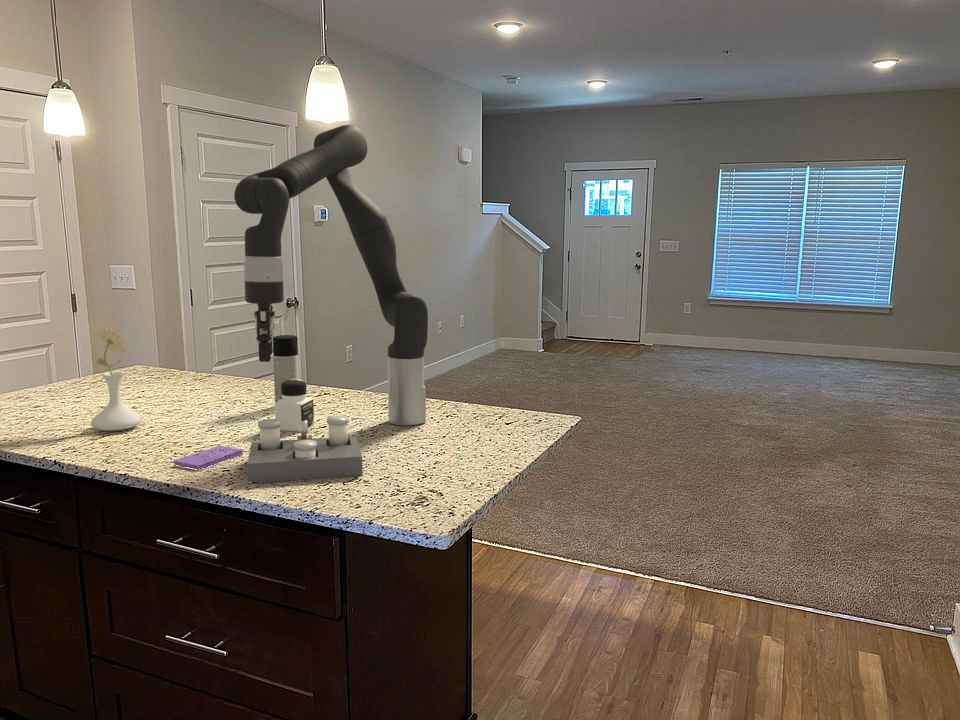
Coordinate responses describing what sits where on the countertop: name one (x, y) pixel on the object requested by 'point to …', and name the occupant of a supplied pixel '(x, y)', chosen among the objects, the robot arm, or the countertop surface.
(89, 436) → the countertop surface
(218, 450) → the sponges
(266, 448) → the knob
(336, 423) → the knob
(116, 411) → the flower in vase
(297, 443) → the knob side
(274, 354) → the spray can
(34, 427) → the countertop surface
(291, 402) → the medicine bottle
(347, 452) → the mount
